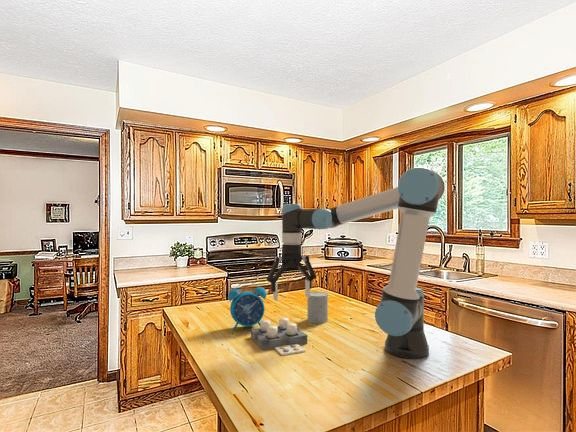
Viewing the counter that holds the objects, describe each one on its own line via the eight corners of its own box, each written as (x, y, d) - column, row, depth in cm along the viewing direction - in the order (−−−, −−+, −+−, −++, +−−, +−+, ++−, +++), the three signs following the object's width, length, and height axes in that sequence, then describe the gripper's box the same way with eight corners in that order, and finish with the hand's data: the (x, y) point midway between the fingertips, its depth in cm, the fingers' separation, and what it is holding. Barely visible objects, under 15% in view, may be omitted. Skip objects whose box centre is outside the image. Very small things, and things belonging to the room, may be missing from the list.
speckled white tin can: (327, 317, 168) (327, 291, 168) (328, 323, 159) (328, 296, 159) (307, 317, 169) (307, 291, 169) (306, 323, 160) (306, 296, 160)
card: (304, 351, 126) (304, 349, 126) (281, 355, 123) (281, 353, 123) (297, 345, 133) (297, 342, 133) (274, 348, 129) (274, 346, 129)
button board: (307, 343, 135) (307, 335, 135) (262, 350, 128) (262, 341, 128) (292, 331, 149) (292, 324, 149) (250, 336, 142) (250, 329, 142)
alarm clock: (229, 333, 146) (229, 285, 146) (227, 325, 156) (227, 280, 156) (269, 330, 150) (268, 283, 150) (264, 322, 160) (264, 279, 160)
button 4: (298, 334, 135) (298, 325, 135) (288, 335, 134) (288, 326, 134) (294, 331, 139) (294, 322, 139) (285, 332, 137) (284, 323, 137)
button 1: (271, 330, 139) (271, 322, 139) (262, 332, 138) (262, 323, 138) (268, 327, 143) (268, 319, 143) (259, 329, 142) (259, 320, 142)
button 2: (279, 337, 132) (279, 328, 132) (269, 338, 131) (268, 329, 131) (275, 334, 136) (275, 325, 136) (265, 335, 134) (265, 326, 134)
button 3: (290, 328, 143) (290, 319, 142) (281, 329, 141) (281, 320, 141) (286, 325, 146) (286, 317, 146) (277, 326, 145) (277, 318, 145)
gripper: (316, 241, 145) (316, 293, 145) (258, 243, 135) (258, 299, 135) (324, 243, 138) (324, 297, 138) (264, 245, 128) (264, 303, 128)
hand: (291, 298), depth 137 cm, fingers open, 13 cm apart
